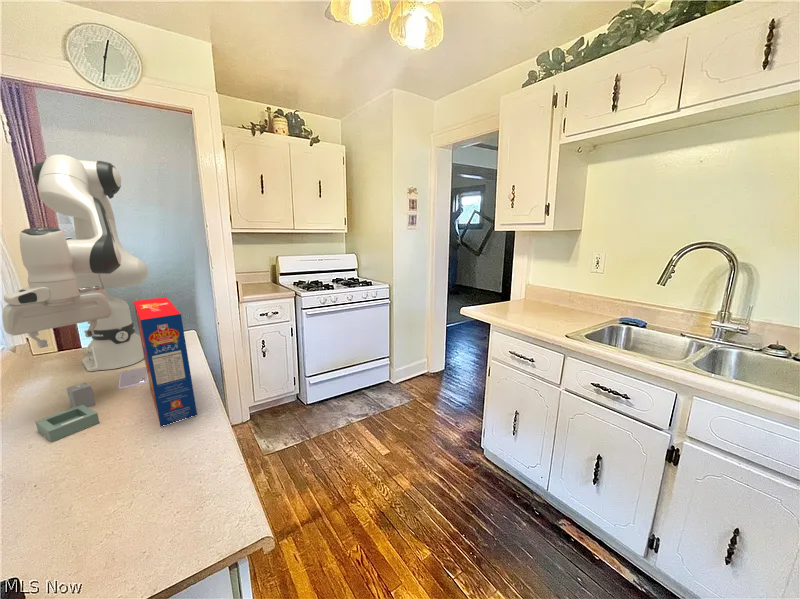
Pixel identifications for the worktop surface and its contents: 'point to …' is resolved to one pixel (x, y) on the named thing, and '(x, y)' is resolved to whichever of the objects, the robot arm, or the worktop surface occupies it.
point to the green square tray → (67, 422)
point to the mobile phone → (133, 377)
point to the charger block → (81, 395)
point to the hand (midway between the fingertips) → (67, 341)
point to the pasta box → (166, 359)
